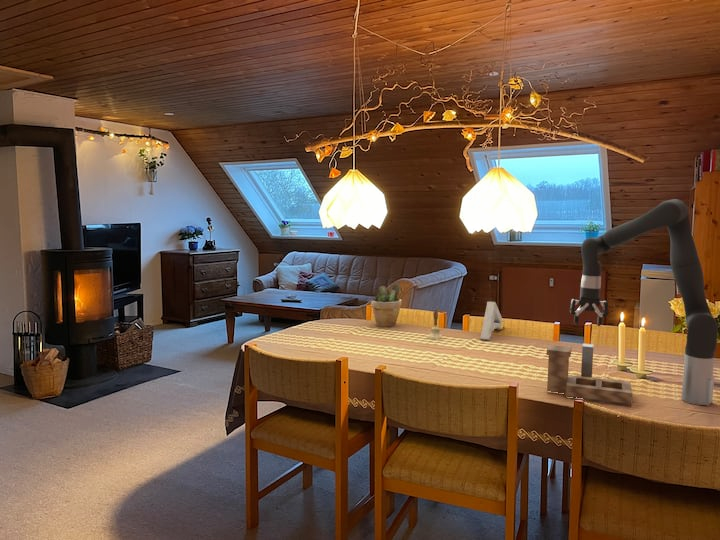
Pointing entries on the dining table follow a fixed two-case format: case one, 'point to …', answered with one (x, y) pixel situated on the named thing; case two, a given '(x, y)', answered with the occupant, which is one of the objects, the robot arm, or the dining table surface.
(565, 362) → the desk organizer
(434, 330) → the hand bell
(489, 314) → the white letter a
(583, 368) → the gray rectangular block
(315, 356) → the dining table surface
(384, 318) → the potted plant
